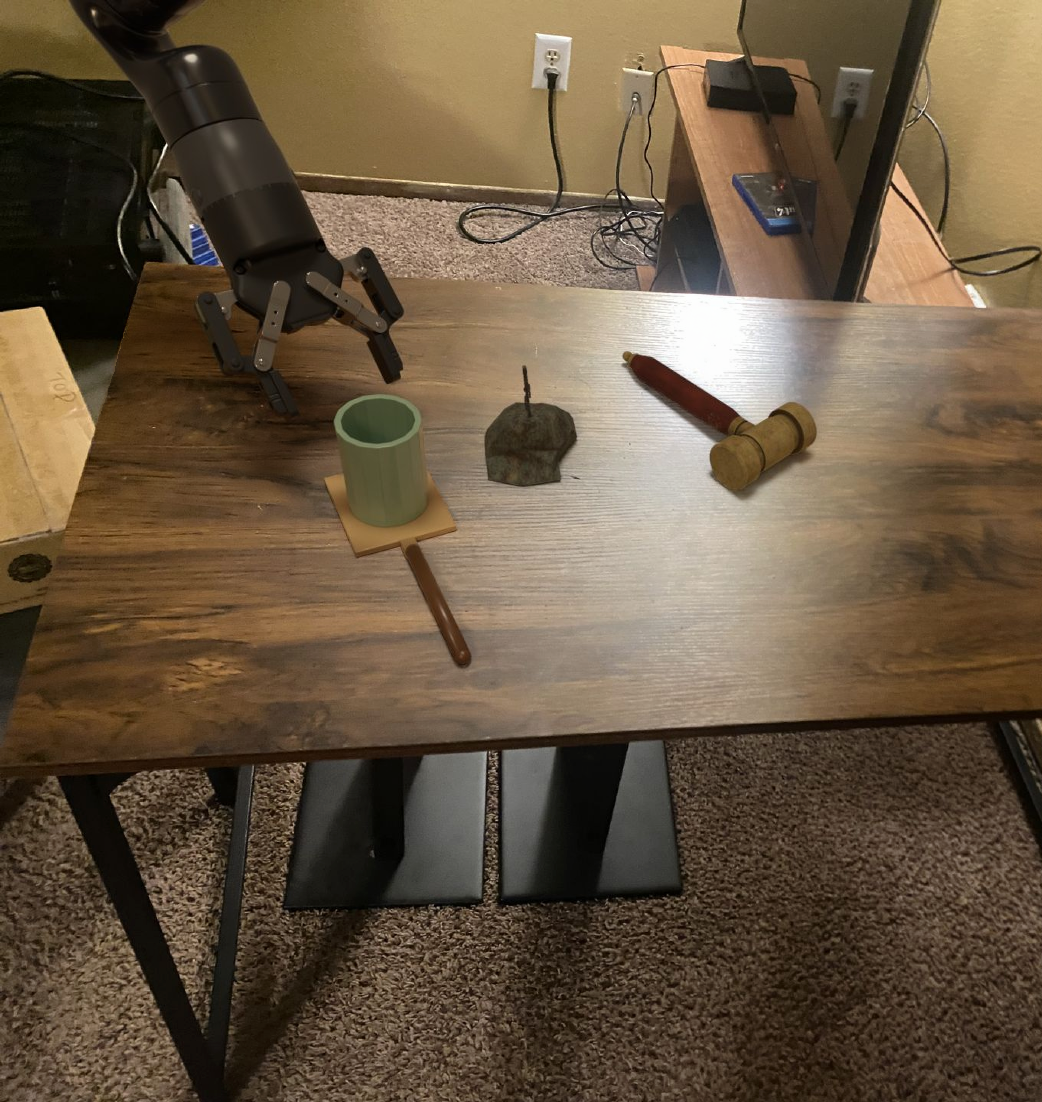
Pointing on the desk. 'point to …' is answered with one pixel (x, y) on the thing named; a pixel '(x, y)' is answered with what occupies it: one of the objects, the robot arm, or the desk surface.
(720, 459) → the gavel
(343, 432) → the pot
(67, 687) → the desk surface
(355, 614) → the desk surface
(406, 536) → the spatula
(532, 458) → the sword in stone
